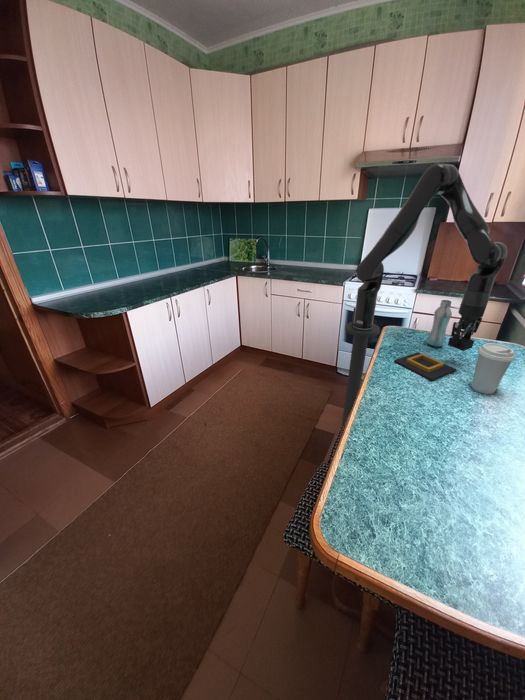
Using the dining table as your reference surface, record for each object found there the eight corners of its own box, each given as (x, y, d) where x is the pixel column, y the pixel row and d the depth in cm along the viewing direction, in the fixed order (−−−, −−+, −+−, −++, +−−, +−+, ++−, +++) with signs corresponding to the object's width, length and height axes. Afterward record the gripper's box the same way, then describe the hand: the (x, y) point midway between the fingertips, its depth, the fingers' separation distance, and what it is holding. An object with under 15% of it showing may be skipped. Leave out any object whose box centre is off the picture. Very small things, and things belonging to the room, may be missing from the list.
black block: (447, 344, 111) (449, 337, 110) (456, 341, 114) (458, 334, 112) (463, 351, 107) (465, 343, 105) (472, 347, 109) (474, 340, 108)
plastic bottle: (431, 348, 124) (443, 304, 116) (423, 342, 131) (434, 299, 122) (446, 348, 125) (459, 303, 116) (437, 341, 131) (449, 298, 122)
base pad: (393, 362, 115) (395, 356, 113) (417, 354, 120) (418, 348, 119) (431, 381, 102) (433, 375, 101) (455, 371, 108) (457, 365, 106)
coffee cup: (473, 395, 94) (488, 354, 87) (461, 379, 103) (474, 341, 96) (506, 398, 93) (524, 356, 86) (491, 381, 101) (506, 343, 94)
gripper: (475, 296, 108) (461, 337, 116) (451, 302, 102) (438, 345, 110) (497, 302, 102) (481, 345, 110) (473, 308, 96) (458, 353, 104)
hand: (460, 345), depth 110 cm, fingers closed on black block, 5 cm apart
